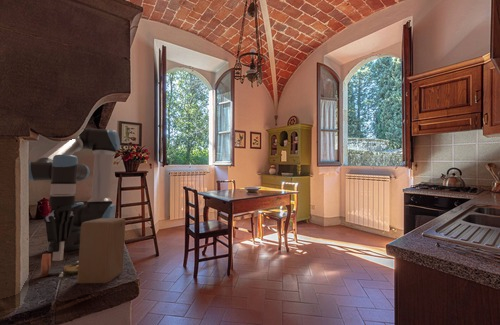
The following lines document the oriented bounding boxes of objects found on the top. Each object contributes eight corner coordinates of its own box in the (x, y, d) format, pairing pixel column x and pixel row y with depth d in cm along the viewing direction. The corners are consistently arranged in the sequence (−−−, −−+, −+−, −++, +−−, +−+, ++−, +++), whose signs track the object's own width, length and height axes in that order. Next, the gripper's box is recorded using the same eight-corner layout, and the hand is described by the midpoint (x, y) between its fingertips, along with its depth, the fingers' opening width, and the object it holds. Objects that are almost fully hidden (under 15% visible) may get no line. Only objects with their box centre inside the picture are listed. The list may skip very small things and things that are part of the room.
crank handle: (37, 279, 74) (39, 257, 75) (43, 272, 80) (44, 252, 81) (86, 271, 81) (88, 251, 82) (88, 265, 87) (89, 247, 88)
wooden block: (123, 274, 82) (126, 217, 84) (107, 286, 72) (110, 221, 74) (95, 274, 82) (99, 218, 84) (75, 286, 72) (79, 222, 74)
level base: (62, 272, 84) (63, 265, 84) (92, 268, 88) (92, 261, 89) (56, 281, 76) (57, 273, 76) (89, 275, 81) (89, 268, 81)
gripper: (65, 194, 92) (61, 254, 90) (37, 196, 79) (30, 266, 77) (84, 194, 93) (80, 254, 90) (59, 196, 80) (53, 266, 77)
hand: (57, 260), depth 84 cm, fingers closed
